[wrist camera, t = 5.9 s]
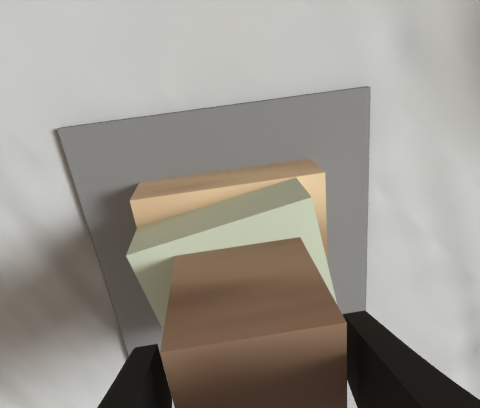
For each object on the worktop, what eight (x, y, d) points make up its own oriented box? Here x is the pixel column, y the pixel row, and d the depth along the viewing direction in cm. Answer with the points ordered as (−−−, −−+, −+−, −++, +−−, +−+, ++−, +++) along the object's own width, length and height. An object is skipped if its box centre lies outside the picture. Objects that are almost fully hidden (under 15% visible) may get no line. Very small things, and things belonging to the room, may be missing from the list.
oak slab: (316, 297, 17) (329, 325, 15) (172, 320, 17) (168, 351, 15) (309, 158, 15) (325, 172, 13) (139, 182, 14) (129, 200, 12)
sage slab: (328, 306, 15) (346, 340, 13) (193, 347, 15) (191, 387, 13) (295, 177, 13) (311, 197, 11) (137, 227, 13) (125, 255, 11)
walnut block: (306, 334, 13) (346, 445, 9) (196, 352, 13) (192, 472, 9) (300, 236, 11) (346, 322, 8) (175, 255, 11) (160, 352, 7)
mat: (363, 325, 18) (365, 329, 18) (133, 363, 18) (132, 367, 18) (367, 86, 14) (370, 87, 14) (59, 127, 13) (56, 129, 13)
